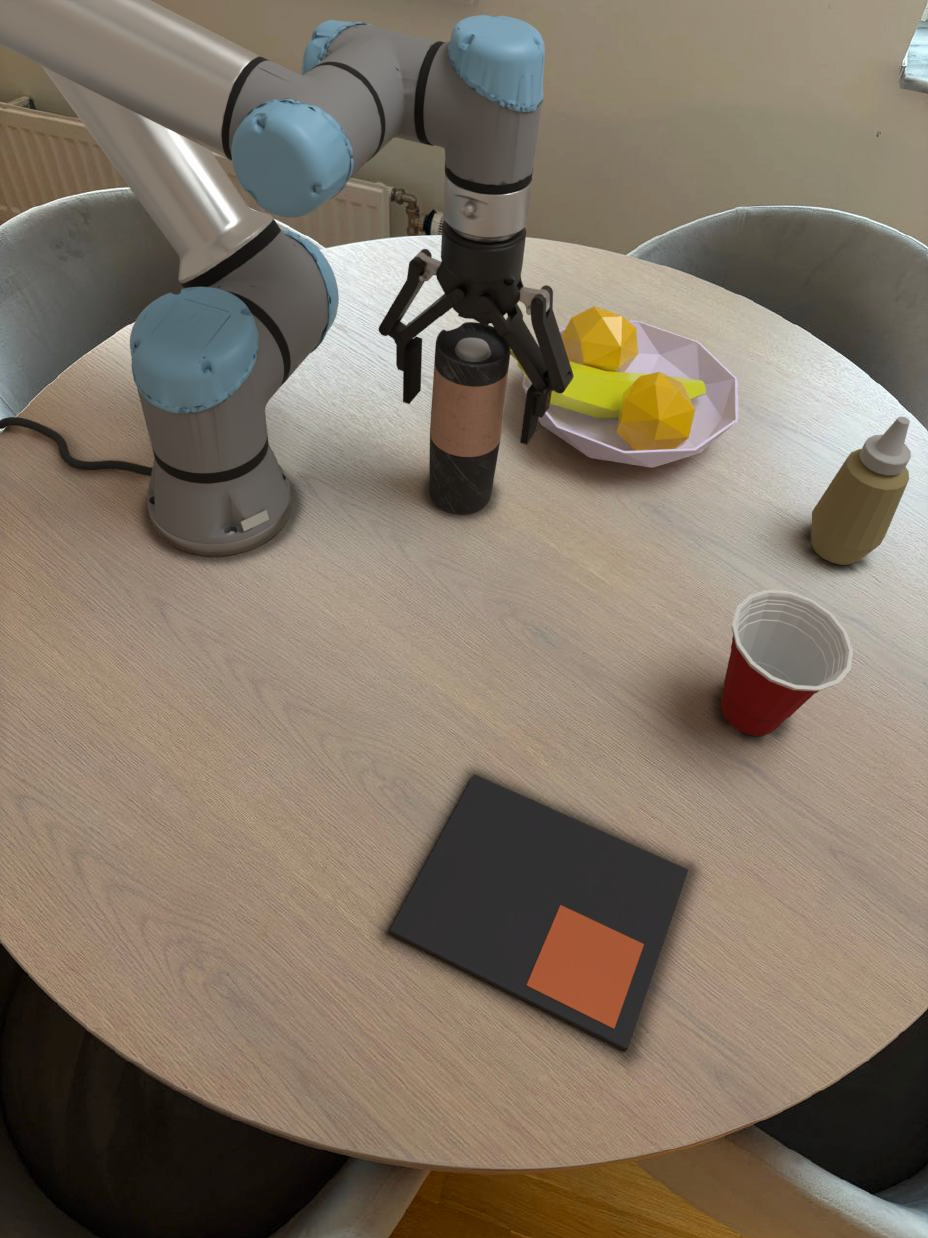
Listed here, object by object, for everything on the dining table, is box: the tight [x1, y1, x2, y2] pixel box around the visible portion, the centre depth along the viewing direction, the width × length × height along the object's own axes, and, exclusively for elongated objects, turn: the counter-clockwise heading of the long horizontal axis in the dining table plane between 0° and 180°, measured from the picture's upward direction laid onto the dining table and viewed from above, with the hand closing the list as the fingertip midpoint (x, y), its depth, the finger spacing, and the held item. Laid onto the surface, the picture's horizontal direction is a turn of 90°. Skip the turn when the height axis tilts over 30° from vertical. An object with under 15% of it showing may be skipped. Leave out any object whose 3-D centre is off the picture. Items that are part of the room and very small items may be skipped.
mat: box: [389, 773, 689, 1052], centre depth 78 cm, size 20×16×1 cm
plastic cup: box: [720, 589, 854, 736], centre depth 87 cm, size 11×11×12 cm
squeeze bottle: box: [810, 416, 912, 566], centre depth 100 cm, size 8×8×18 cm
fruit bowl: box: [510, 306, 739, 469], centre depth 115 cm, size 28×27×11 cm
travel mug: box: [428, 321, 511, 515], centre depth 101 cm, size 8×8×20 cm
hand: (469, 416), depth 100 cm, fingers open, 13 cm apart
